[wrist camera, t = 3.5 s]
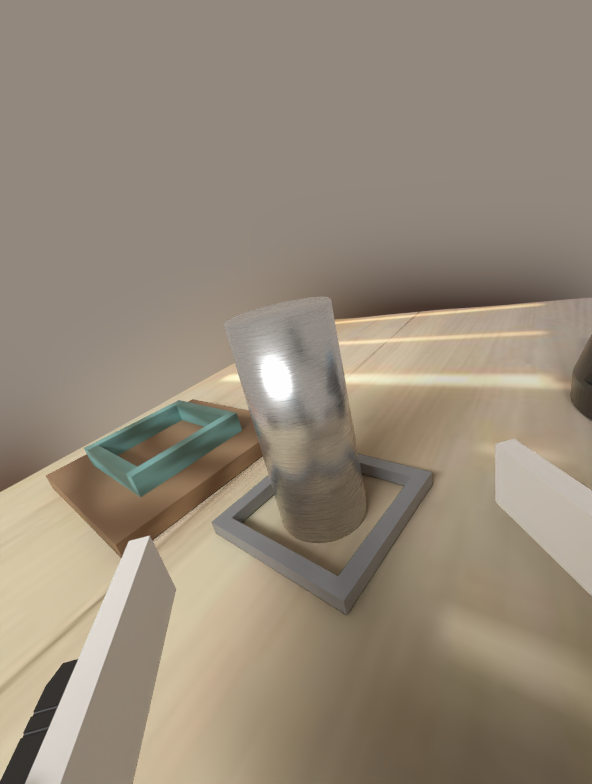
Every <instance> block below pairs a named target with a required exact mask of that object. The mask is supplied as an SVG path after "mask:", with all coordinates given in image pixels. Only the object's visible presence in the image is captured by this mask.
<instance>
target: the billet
mask: <svg viewBox="0 0 592 784" xmlns="http://www.w3.org/2000/svg"><path fill="white" fill-rule="evenodd" d="M224 327H225V330H226V334H227V337H228V341H229V344H230V347H231V351H232V354H233V357H234V361H235V364H236V367H237V371H238V374H239V378H240V381H241V384H242V388H243V391H244V394H245V398H246V401H247V404H248V408H249V411H250V414H251V418H252V421H253V424H254V428H255V431H256V434H257V438H258V441H259V444H260V448H261V451H262V454H263V458H264V461H265V465H266V468H267V471H268V475H269V478H270V481H271V485H272V488H273V491H274V495H275V498H276V501H277V505H278V508H279V511H280V515H281V518H282V521H283V524H284V527H285V528H286V530H287V531H288V532H289V533H290V534H291V535H292V536H294V537H295V538H297V539H299V540H302V541H305V542H311V543H325V542H331V541H334V540H338V539H340V538H343V537H345V536H347V535H348V534H350V533H351V532H353V531H354V530H355V529H356V528H358V526H359V525H360V524H361V523H362V521H363V520H364V518H365V516H366V513H367V501H366V495H365V490H364V484H363V478H362V473H361V467H360V462H359V456H358V450H357V445H356V439H355V433H354V428H353V422H352V416H351V411H350V405H349V400H348V394H347V388H346V383H345V377H344V371H343V366H342V360H341V354H340V349H339V343H338V338H337V332H336V326H335V321H334V315H333V309H332V304H331V299H330V298H328V297H312V298H304V299H297V300H292V301H287V302H282V303H277V304H273V305H269V306H266V307H262V308H258V309H255V310H251V311H248V312H246V313H243V314H240V315H237V316H235V317H233V318H231V319H229V320H227V321H226V322H225V323H224Z"/></svg>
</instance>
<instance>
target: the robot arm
mask: <svg viewBox="0 0 592 784" xmlns="http://www.w3.org/2000/svg"><path fill="white" fill-rule="evenodd" d="M571 399H572V402H573V403H574V405H575V406H576V407H577V408H578V409H579V410H580V411H581V412H582V413H583V414H585V415H586V416H587V417H589V418H591V419H592V335H591V337H590V339H589V341H588V343H587V345H586V346H585V348H584V350H583V352H582V354H581V356H580V358H579V360H578V362H577V363H576V365H575V367H574V370H573V375H572V385H571ZM495 502H496V503H497V504H498V505H499V506H500V507H501V508H502V509H503V510H504V511H505V512H506V513H507V514H508V515H509V516H510V517H511V518H512V519H513V520H514V521H515V522H516V523H518V524H519V525H520V526H521V527H522V528H523V529H524V530H525V531H526V532H527V533H528V534H529V535H530V536H531V537H532V538H533V539H534V540H535V541H536V542H537V543H538V544H539V545H540V546H541V547H542V548H543V549H544V550H545V551H546V552H547V553H548V554H549V555H550V556H551V557H552V558H553V559H554V560H555V561H556V562H557V563H558V564H559V565H560V566H561V567H562V568H563V569H564V570H566V571H567V572H568V573H569V574H570V575H571V576H572V577H573V578H574V579H575V580H576V581H577V582H578V583H579V584H580V585H581V586H582V587H583V588H584V589H585V590H586V591H587V592H588V593H589V594H590V595H591V596H592V490H590V489H589V488H587V487H586V486H584V485H583V484H581V483H580V482H578V481H577V480H575V479H574V478H572V477H571V476H569V475H568V474H566V473H565V472H563V471H562V470H560V469H559V468H557V467H556V466H554V465H553V464H551V463H550V462H548V461H547V460H546V459H544V458H543V457H541V456H540V455H538V454H537V453H535V452H534V451H532V450H531V449H529V448H528V447H526V446H525V445H523V444H522V443H520V442H519V441H517V440H516V439H511V440H508V441H504V442H500V443H496V444H495ZM175 591H176V588H175V586H174V584H173V582H172V580H171V577H170V575H169V573H168V571H167V569H166V567H165V565H164V563H163V561H162V559H161V557H160V555H159V553H158V551H157V549H156V547H155V545H154V543H153V541H152V539H151V537H150V536H146V537H142V538H139V539H135V540H131V541H129V542H128V544H127V547H126V549H125V551H124V554H123V556H122V558H121V561H120V563H119V565H118V568H117V570H116V572H115V575H114V577H113V579H112V582H111V584H110V586H109V589H108V591H107V593H106V596H105V598H104V600H103V603H102V605H101V607H100V610H99V612H98V614H97V617H96V619H95V621H94V624H93V626H92V628H91V631H90V633H89V635H88V638H87V640H86V642H85V645H84V647H83V649H82V652H81V654H80V656H79V659H77V660H73V661H69V662H66V663H63V664H62V665H61V667H60V668H59V669H58V671H57V672H56V673H55V675H54V676H53V677H52V679H51V680H50V681H49V683H48V684H47V685H46V687H45V689H44V691H43V693H42V695H41V697H40V699H39V701H38V703H37V705H36V707H35V710H34V715H33V716H32V717H31V718H30V720H29V722H28V724H27V726H26V728H25V730H24V736H23V738H21V739H20V741H19V743H18V745H17V747H16V749H15V751H14V754H13V756H12V758H11V760H10V762H9V764H8V766H7V768H6V770H5V772H4V774H3V777H2V779H1V781H0V784H133V780H134V776H135V771H136V767H137V762H138V758H139V753H140V749H141V744H142V740H143V735H144V731H145V726H146V722H147V717H148V713H149V708H150V704H151V699H152V695H153V690H154V686H155V681H156V677H157V672H158V668H159V663H160V659H161V654H162V650H163V645H164V641H165V636H166V632H167V627H168V623H169V618H170V614H171V609H172V605H173V600H174V596H175Z"/></svg>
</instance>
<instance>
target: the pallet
mask: <svg viewBox="0 0 592 784" xmlns="http://www.w3.org/2000/svg"><path fill="white" fill-rule="evenodd" d="M84 449H85V451H86V453H87V455H85V456H83V457H81V458H79V459H77V460H75V461H73V462H71V463H69V464H67V465H65V466H64V467H62V468H60V469H58V470H56V471H54V472H52V473H50V474H48V475H46V477H47V479H48V481H49V482H50V484H51V486H52V487H53V488H54V490H55V491H56V492H57V493H58V494H59V495H60V496H61V497H62V498H63V499H64V500H65V501H66V502H67V503H68V504H69V505H70V506H71V507H72V508H73V509H74V510H75V511H76V512H77V513H78V514H79V515H80V516H81V517H82V518H83V519H84V520H85V521H86V522H87V523H88V524H89V525H90V526H91V527H92V528H93V529H94V530H95V531H96V533H97V534H98V535H99V536H100V537H101V538H102V539H103V540H104V541H105V542H106V543H107V544H108V545H109V546H110V547H111V548H112V549H113V550H114V551H115V552H116V553H117V554H118V555H119V556H120V557H121V558H122V556H123V554H124V551H125V549H126V547H127V544H128V542H129V541H131V540H135V539H139V538H142V537H146V536H150V537H151V539H152V540H153V539H154V538H155V537H157V536H158V535H159V534H161V533H162V532H163V531H165V530H166V529H167V528H168V527H170V526H171V525H172V524H174V523H175V522H176V521H178V520H179V519H180V518H182V517H183V516H184V515H185V514H187V513H188V512H189V511H191V510H192V509H193V508H195V507H196V506H197V505H199V504H200V503H201V502H202V501H204V500H205V499H206V498H208V497H209V496H210V495H212V494H213V493H214V492H216V491H217V490H218V489H219V488H221V487H222V486H223V485H225V484H226V483H227V482H229V481H230V480H231V479H233V478H234V477H235V476H237V475H238V474H239V473H240V472H242V471H243V470H244V469H246V468H247V467H248V466H250V465H251V464H252V463H254V462H255V461H256V460H257V459H259V458H260V457H261V456H263V454H262V451H261V448H260V444H259V441H258V438H257V434H256V431H255V428H254V424H253V421H252V418H251V414H250V411H247V410H242V409H237V408H232V407H227V406H223V405H218V404H213V403H208V402H203V401H198V400H191V401H189V402H185V401H180V400H179V401H177V402H175V403H173V404H171V405H169V406H167V407H165V408H163V409H161V410H159V411H157V412H155V413H153V414H151V415H149V416H147V417H145V418H143V419H141V420H139V421H137V422H135V423H133V424H131V425H129V426H127V427H125V428H123V429H121V430H119V431H117V432H115V433H113V434H111V435H109V436H107V437H105V438H103V439H101V440H99V441H97V442H95V443H93V444H91V445H89V446H87V447H86V448H84Z"/></svg>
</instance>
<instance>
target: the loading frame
mask: <svg viewBox="0 0 592 784" xmlns="http://www.w3.org/2000/svg"><path fill="white" fill-rule="evenodd" d="M358 456H359V462H360V467H361V473H362V474H366V475H369V476H372V477H376V478H379V479H383V480H386V481H389V482H393V483H396V484H400V485H403V486H404V488H403V489H402V490H401V492H400V493H399V494H398V496H397V497H396V498H395V500H394V501H393V502H392V504H391V505H390V507H389V508H388V509H387V511H386V512H385V513H384V515H383V516H382V517H381V519H380V520H379V521H378V523H377V524H376V525H375V527H374V528H373V530H372V531H371V532H370V534H369V535H368V536H367V538H366V539H365V540H364V542H363V543H362V544H361V546H360V547H359V548H358V550H357V551H356V553H355V554H354V555H353V557H352V558H351V559H350V561H349V562H348V563H347V565H346V566H345V567H344V569H343V570H342V572H341V573H340V574H339V576H337V575H335V574H333V573H331V572H330V571H328V570H326V569H324V568H322V567H321V566H319V565H317V564H315V563H313V562H311V561H310V560H308V559H306V558H304V557H302V556H300V555H299V554H297V553H295V552H293V551H291V550H290V549H288V548H286V547H284V546H282V545H280V544H279V543H277V542H275V541H273V540H271V539H269V538H268V537H266V536H264V535H262V534H260V533H259V532H257V531H255V530H253V529H251V528H249V527H248V526H246V525H244V524H242V522H243V521H245V520H246V519H247V518H248V517H249V516H250V515H251V514H252V513H254V512H255V511H256V510H257V509H258V508H259V507H260V506H261V505H262V504H264V503H265V502H266V501H267V500H268V499H269V498H270V497H271V496H273V495H274V491H273V488H272V485H271V481H270V478H269V475H268V476H267V477H265V478H264V479H263V480H262V481H261V482H259V483H258V484H257V485H256V486H255V487H253V488H252V489H251V490H250V491H249V492H247V493H246V494H245V495H244V496H243V497H241V498H240V499H239V500H238V501H237V502H235V503H234V504H233V505H232V506H230V507H229V508H228V509H227V510H226V511H224V512H223V513H222V514H221V515H220V516H218V517H217V518H216V519H215V520H214V521H212V524H213V527H214V530H215V532H216V533H217V534H218V535H220V536H221V537H223V538H225V539H226V540H228V541H229V542H231V543H233V544H234V545H236V546H237V547H239V548H241V549H242V550H244V551H245V552H247V553H249V554H250V555H252V556H253V557H255V558H257V559H258V560H260V561H261V562H263V563H265V564H266V565H268V566H269V567H271V568H272V569H274V570H276V571H277V572H279V573H280V574H282V575H284V576H285V577H287V578H288V579H290V580H292V581H293V582H295V583H296V584H298V585H300V586H301V587H303V588H304V589H306V590H308V591H309V592H311V593H312V594H314V595H316V596H317V597H319V598H320V599H322V600H324V601H325V602H327V603H328V604H330V605H332V606H333V607H335V608H336V609H338V610H340V611H341V612H343V613H344V614H346V615H347V614H348V612H349V611H350V609H351V608H352V606H353V605H354V603H355V602H356V600H357V599H358V597H359V596H360V594H361V593H362V591H363V590H364V588H365V587H366V585H367V583H368V582H369V580H370V579H371V577H372V576H373V574H374V573H375V571H376V570H377V568H378V567H379V565H380V564H381V562H382V561H383V559H384V557H385V556H386V554H387V553H388V551H389V550H390V548H391V547H392V545H393V544H394V542H395V541H396V539H397V538H398V536H399V535H400V533H401V532H402V530H403V528H404V527H405V525H406V524H407V522H408V521H409V519H410V518H411V516H412V515H413V513H414V512H415V510H416V509H417V507H418V506H419V504H420V503H421V501H422V499H423V498H424V496H425V495H426V493H427V492H428V490H429V489H430V487H431V486H432V484H433V481H432V472H429V471H425V470H421V469H417V468H413V467H409V466H405V465H402V464H398V463H394V462H390V461H386V460H382V459H378V458H374V457H370V456H366V455H362V454H358Z"/></svg>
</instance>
